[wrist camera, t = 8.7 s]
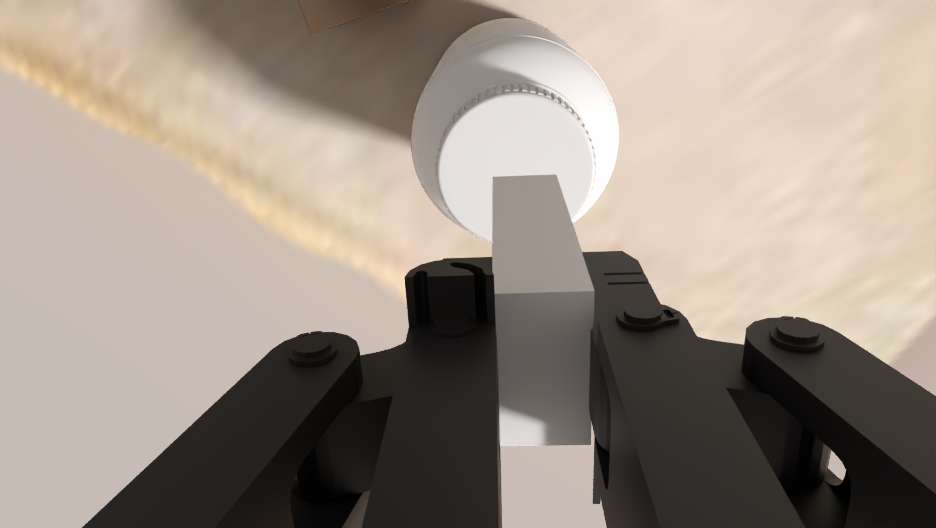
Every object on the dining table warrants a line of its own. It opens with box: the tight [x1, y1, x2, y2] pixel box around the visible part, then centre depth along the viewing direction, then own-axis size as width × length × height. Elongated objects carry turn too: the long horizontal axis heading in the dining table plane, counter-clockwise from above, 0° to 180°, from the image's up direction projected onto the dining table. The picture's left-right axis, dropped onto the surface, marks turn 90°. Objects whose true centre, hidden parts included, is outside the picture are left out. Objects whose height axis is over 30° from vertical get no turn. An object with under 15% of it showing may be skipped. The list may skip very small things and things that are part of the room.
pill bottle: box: [411, 18, 619, 243], centre depth 29 cm, size 8×8×15 cm
